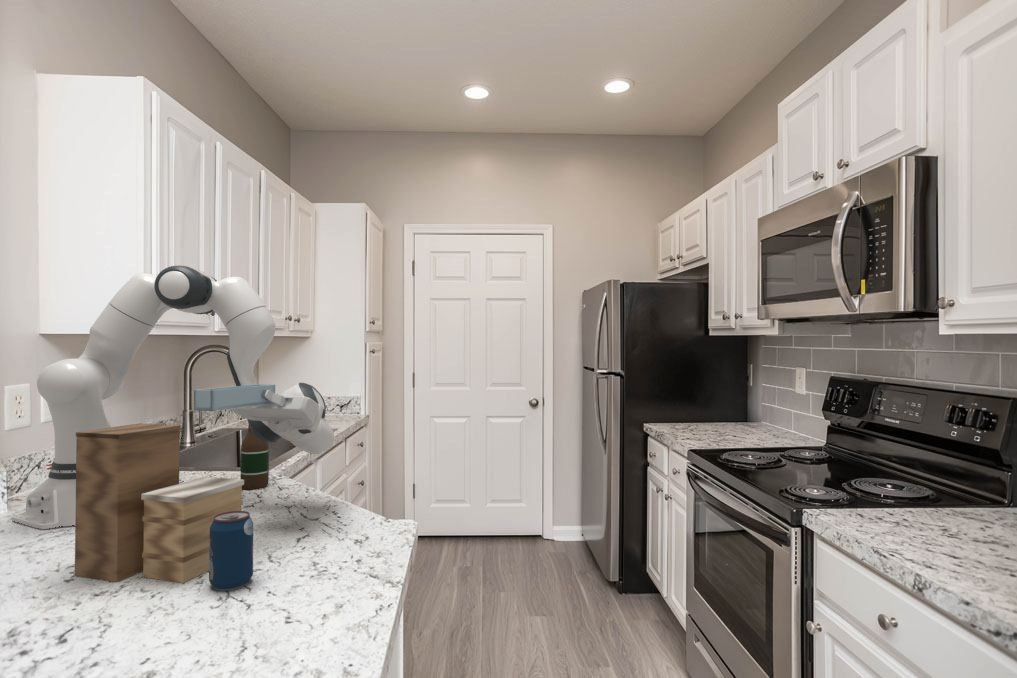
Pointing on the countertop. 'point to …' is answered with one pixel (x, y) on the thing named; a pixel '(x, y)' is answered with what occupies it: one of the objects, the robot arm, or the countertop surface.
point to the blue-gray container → (230, 397)
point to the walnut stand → (119, 494)
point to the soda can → (231, 550)
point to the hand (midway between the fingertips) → (253, 392)
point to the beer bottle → (254, 462)
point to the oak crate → (184, 525)
